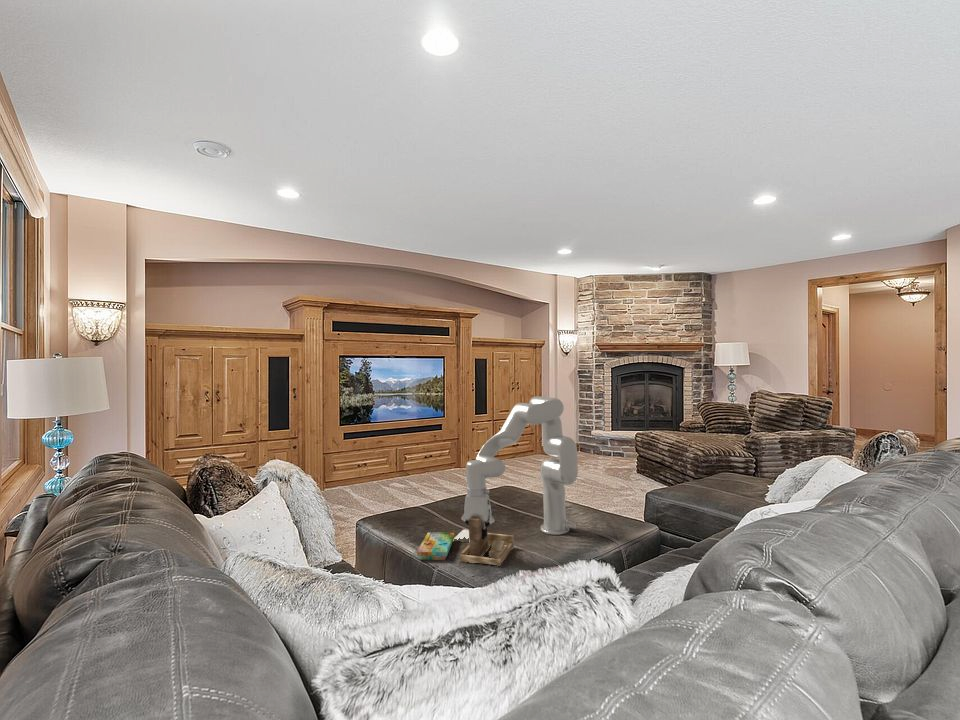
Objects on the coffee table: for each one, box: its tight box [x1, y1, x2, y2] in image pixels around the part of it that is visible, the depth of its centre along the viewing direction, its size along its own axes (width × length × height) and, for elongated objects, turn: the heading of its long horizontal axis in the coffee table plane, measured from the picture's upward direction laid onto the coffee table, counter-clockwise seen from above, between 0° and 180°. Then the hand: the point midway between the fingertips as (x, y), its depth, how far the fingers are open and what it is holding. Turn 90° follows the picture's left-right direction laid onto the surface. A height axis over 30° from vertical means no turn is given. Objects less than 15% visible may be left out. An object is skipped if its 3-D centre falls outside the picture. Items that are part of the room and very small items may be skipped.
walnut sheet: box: [468, 517, 489, 556], centre depth 204 cm, size 4×10×14 cm, turn 160°
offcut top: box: [490, 540, 504, 552], centre depth 201 cm, size 4×6×2 cm, turn 170°
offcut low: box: [488, 545, 507, 558], centre depth 202 cm, size 5×8×3 cm, turn 160°
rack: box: [459, 532, 515, 565], centre depth 203 cm, size 16×18×5 cm
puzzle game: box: [416, 532, 456, 561], centre depth 208 cm, size 12×5×20 cm
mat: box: [453, 529, 469, 542], centre depth 221 cm, size 10×13×1 cm
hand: (478, 536), depth 204 cm, fingers closed on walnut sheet, 4 cm apart
